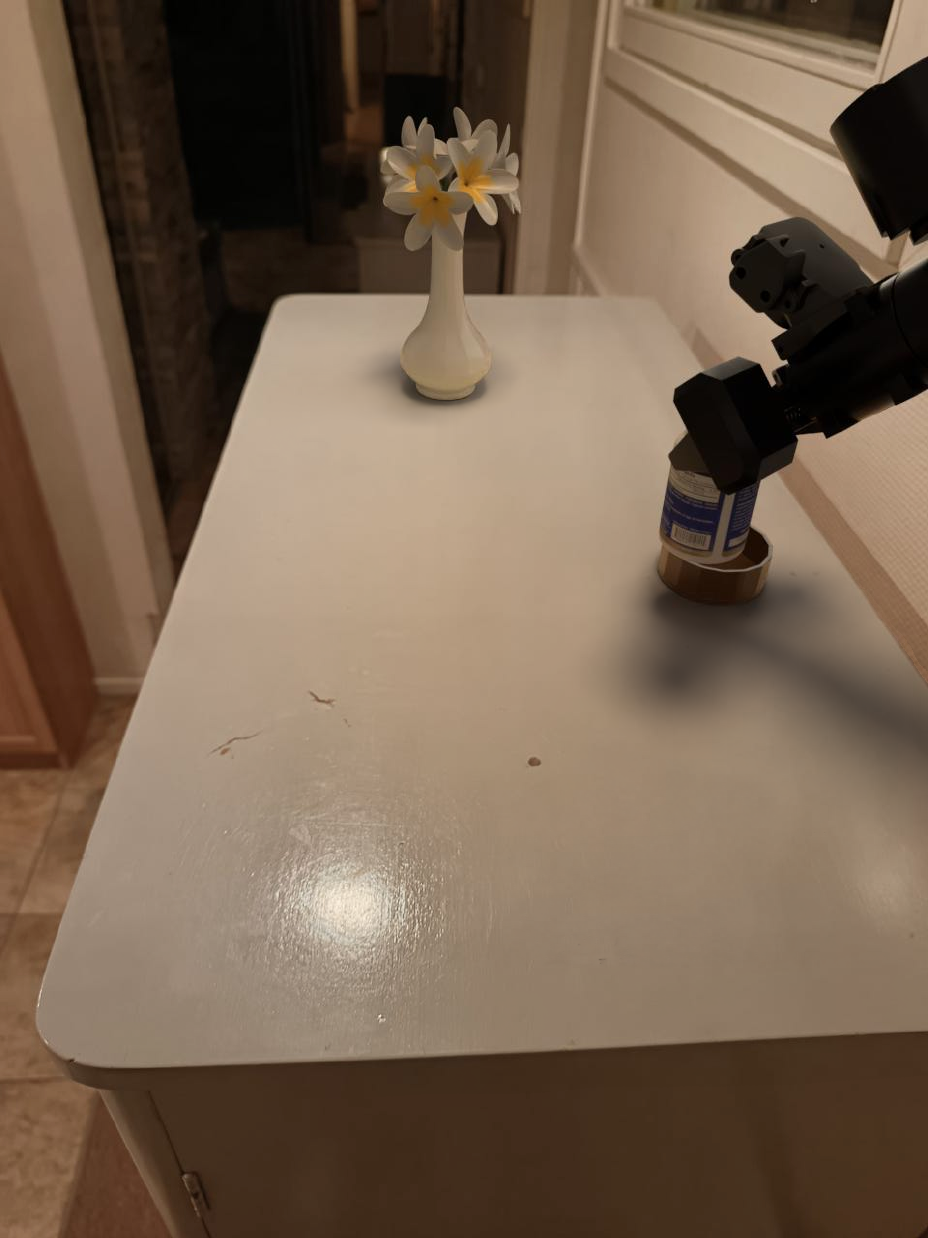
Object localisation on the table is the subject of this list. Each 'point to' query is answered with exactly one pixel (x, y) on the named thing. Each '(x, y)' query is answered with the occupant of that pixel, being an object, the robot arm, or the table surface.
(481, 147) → the flower vase
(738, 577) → the dock
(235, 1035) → the table surface
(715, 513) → the pill bottle
